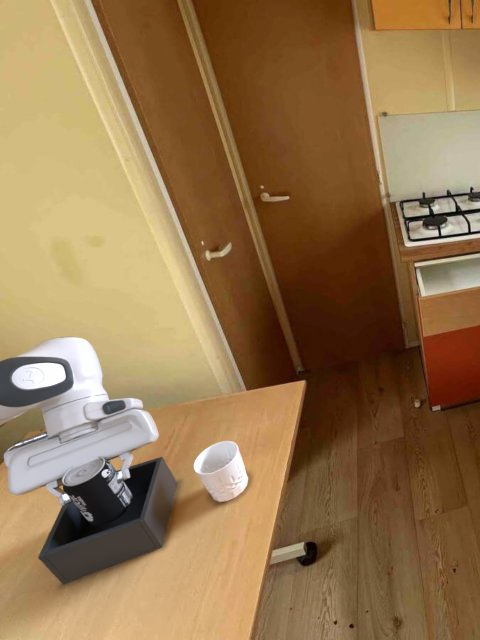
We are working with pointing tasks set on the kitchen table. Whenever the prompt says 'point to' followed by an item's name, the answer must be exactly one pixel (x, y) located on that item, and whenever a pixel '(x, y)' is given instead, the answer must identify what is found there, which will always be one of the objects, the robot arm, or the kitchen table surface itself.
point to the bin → (113, 527)
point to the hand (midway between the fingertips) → (97, 491)
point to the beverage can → (97, 491)
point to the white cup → (222, 470)
